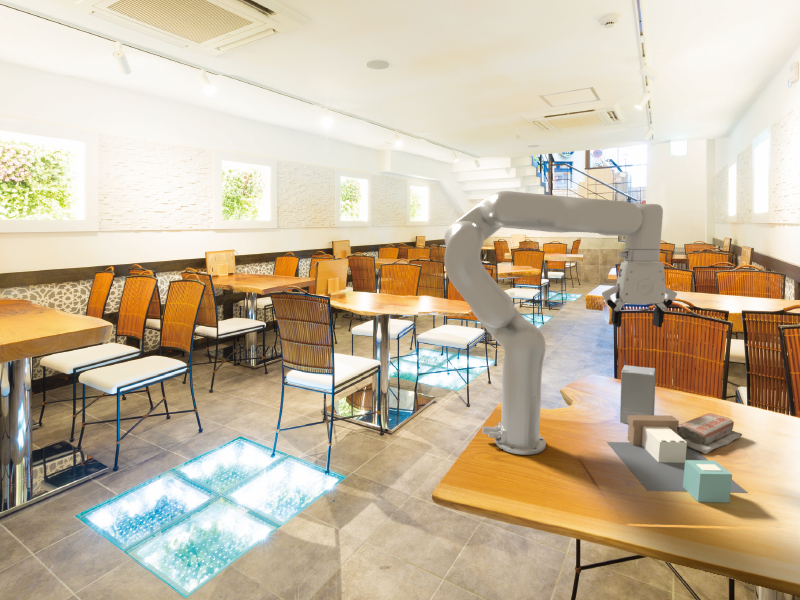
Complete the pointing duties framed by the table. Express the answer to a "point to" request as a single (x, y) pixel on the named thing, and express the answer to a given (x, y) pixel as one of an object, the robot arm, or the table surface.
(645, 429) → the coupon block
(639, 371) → the skincare box
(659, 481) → the mat
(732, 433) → the packaged product
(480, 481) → the table surface
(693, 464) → the teal cube
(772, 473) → the table surface
